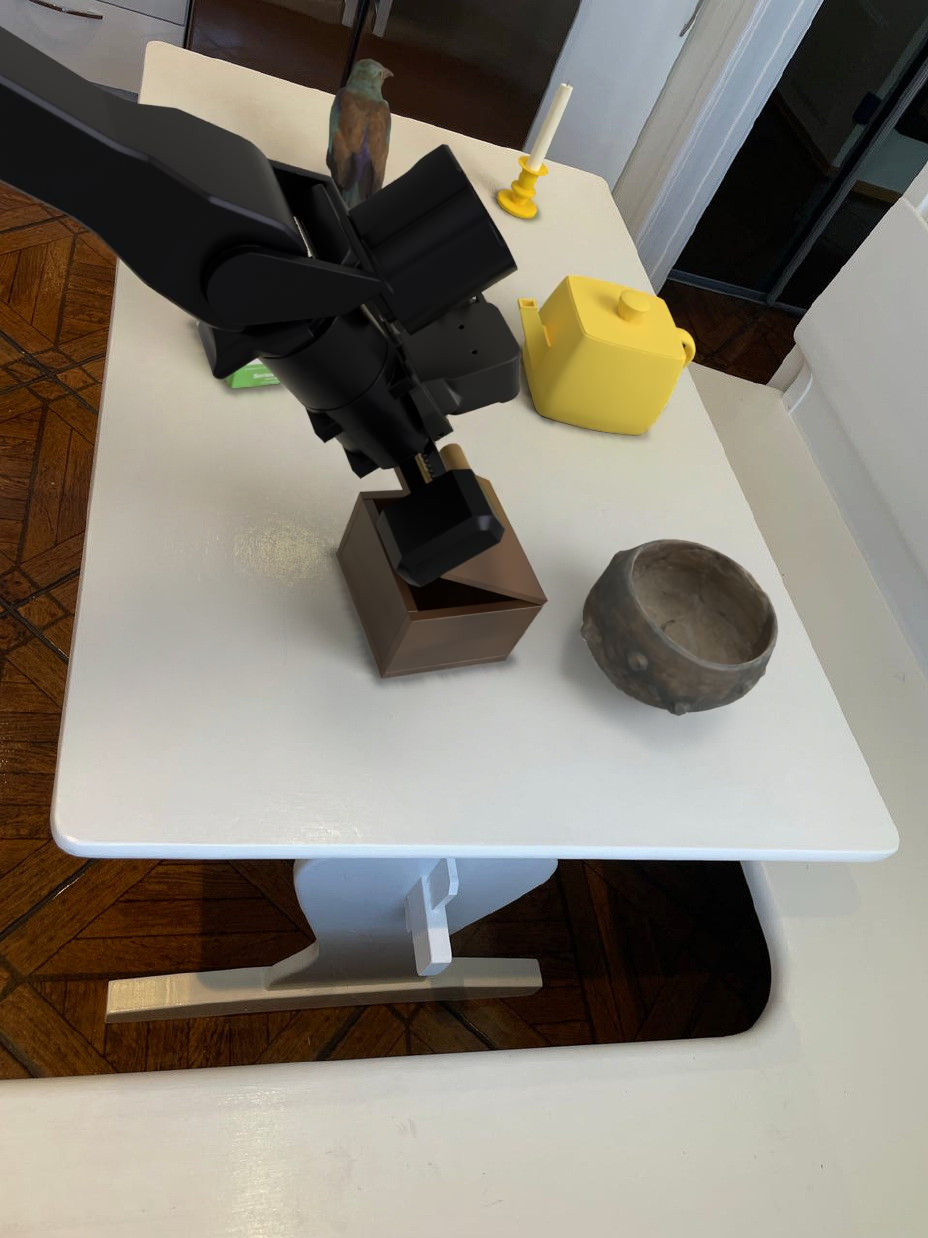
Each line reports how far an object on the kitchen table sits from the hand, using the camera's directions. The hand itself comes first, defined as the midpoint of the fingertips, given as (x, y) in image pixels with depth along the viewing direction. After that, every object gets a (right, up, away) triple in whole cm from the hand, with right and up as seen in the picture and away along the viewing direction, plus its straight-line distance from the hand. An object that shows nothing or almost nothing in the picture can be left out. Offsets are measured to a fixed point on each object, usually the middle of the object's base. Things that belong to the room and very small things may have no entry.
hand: (452, 496), depth 62 cm
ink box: (-19, +15, +20) cm, 32 cm away
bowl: (+15, -12, +15) cm, 25 cm away
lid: (+1, -2, +4) cm, 4 cm away
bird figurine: (-11, +36, +40) cm, 55 cm away
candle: (+7, +43, +54) cm, 69 cm away
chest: (-3, -7, +11) cm, 13 cm away
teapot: (+12, +16, +35) cm, 40 cm away
